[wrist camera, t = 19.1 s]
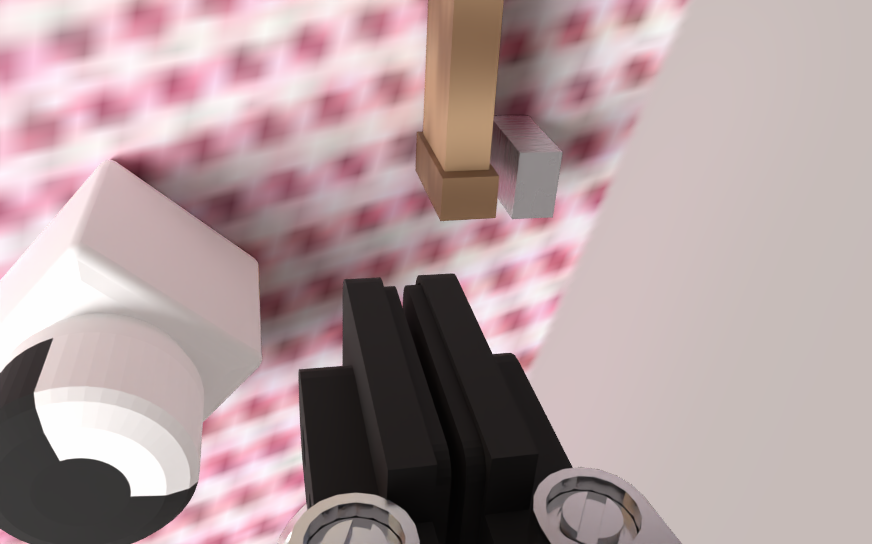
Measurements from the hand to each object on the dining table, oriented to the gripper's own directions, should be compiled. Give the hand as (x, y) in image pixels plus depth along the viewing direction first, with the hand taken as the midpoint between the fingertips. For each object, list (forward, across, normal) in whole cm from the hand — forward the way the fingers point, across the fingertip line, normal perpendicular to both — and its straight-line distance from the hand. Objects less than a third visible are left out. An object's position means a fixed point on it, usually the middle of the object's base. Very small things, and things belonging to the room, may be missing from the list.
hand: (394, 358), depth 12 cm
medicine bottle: (+19, +7, +9) cm, 22 cm away
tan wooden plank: (+19, -5, -1) cm, 20 cm away
